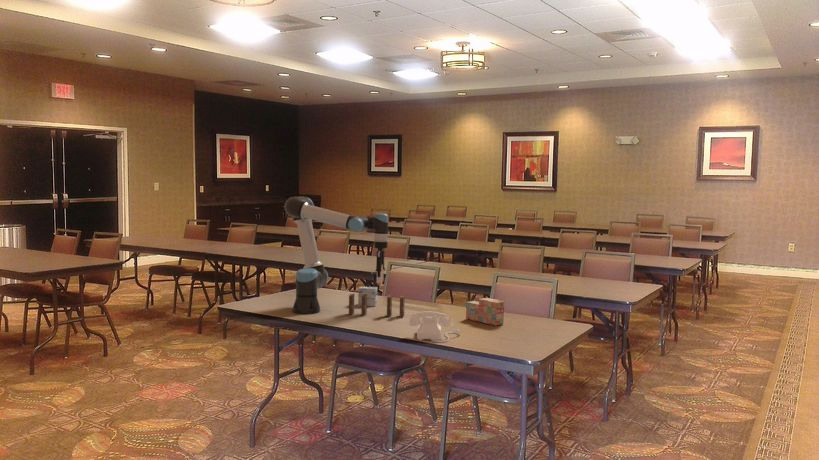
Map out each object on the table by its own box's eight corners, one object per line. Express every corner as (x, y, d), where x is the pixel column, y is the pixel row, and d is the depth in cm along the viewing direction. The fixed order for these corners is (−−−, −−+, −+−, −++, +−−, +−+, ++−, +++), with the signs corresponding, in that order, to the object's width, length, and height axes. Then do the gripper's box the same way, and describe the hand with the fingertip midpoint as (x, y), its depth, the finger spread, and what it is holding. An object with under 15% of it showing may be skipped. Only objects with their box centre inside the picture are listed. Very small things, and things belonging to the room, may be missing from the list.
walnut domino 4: (399, 317, 347) (399, 297, 346) (401, 315, 353) (401, 295, 352) (402, 317, 347) (403, 297, 346) (404, 315, 353) (404, 295, 352)
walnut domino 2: (361, 315, 349) (361, 295, 349) (363, 313, 355) (363, 294, 354) (364, 316, 349) (364, 296, 348) (366, 313, 355) (366, 294, 354)
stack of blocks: (465, 318, 347) (466, 296, 346) (473, 317, 352) (473, 295, 351) (496, 325, 332) (496, 302, 331) (503, 324, 336) (504, 301, 335)
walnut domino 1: (348, 315, 350) (349, 295, 349) (351, 313, 356) (351, 293, 355) (352, 315, 350) (352, 295, 349) (354, 313, 356) (354, 293, 355)
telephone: (460, 333, 314) (461, 308, 313) (462, 343, 293) (463, 316, 292) (410, 331, 315) (410, 306, 314) (408, 342, 294) (408, 315, 294)
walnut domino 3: (386, 316, 348) (387, 296, 347) (388, 314, 354) (388, 295, 353) (390, 317, 348) (390, 297, 347) (391, 314, 353) (391, 295, 353)
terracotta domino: (377, 285, 358) (377, 265, 358) (379, 283, 364) (379, 264, 364) (380, 285, 358) (381, 265, 357) (382, 283, 364) (382, 264, 363)
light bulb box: (377, 304, 383) (377, 286, 382) (375, 306, 376) (376, 288, 376) (359, 303, 384) (360, 286, 383) (357, 306, 377) (358, 287, 377)
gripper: (384, 242, 350) (383, 284, 351) (389, 239, 368) (388, 279, 370) (371, 242, 350) (370, 284, 352) (377, 239, 369) (376, 279, 371)
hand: (379, 281), depth 361 cm, fingers closed on terracotta domino, 6 cm apart
